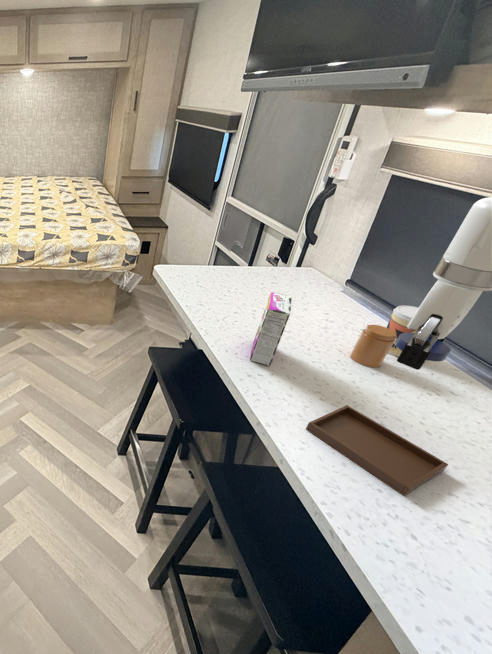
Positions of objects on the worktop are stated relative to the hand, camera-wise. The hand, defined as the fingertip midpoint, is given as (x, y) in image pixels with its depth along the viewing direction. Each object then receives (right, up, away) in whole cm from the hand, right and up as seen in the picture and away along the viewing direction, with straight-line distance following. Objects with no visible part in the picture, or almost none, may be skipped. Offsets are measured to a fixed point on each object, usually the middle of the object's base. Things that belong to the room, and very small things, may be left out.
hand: (415, 358), depth 75 cm
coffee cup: (+33, -4, +35) cm, 48 cm away
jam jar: (+20, -5, +32) cm, 38 cm away
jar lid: (0, +3, -1) cm, 3 cm away
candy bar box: (-6, -4, +35) cm, 35 cm away
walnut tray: (-3, -19, +6) cm, 21 cm away
